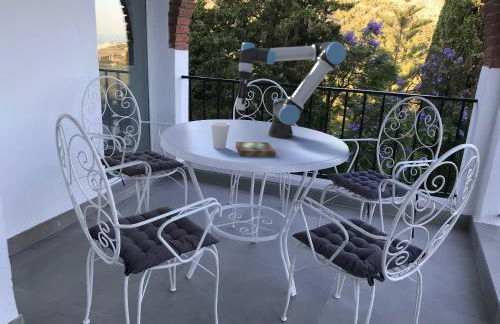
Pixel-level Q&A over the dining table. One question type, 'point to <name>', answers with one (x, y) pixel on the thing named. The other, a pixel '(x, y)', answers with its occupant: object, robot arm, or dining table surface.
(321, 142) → the dining table surface
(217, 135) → the foam cup
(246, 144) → the walnut base
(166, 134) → the dining table surface
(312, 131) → the dining table surface
